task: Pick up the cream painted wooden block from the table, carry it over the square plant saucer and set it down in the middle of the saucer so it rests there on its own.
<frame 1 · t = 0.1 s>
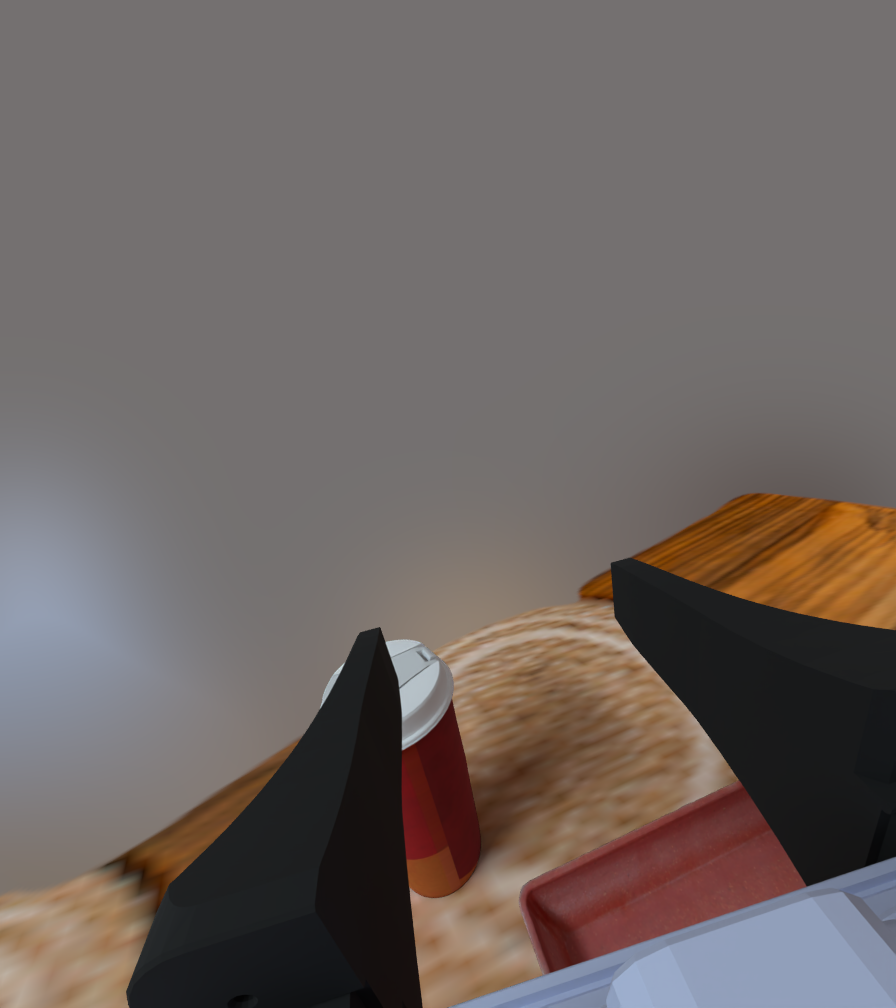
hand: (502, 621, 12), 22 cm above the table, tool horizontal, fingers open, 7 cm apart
paper cup: (439, 849, 27), on the table
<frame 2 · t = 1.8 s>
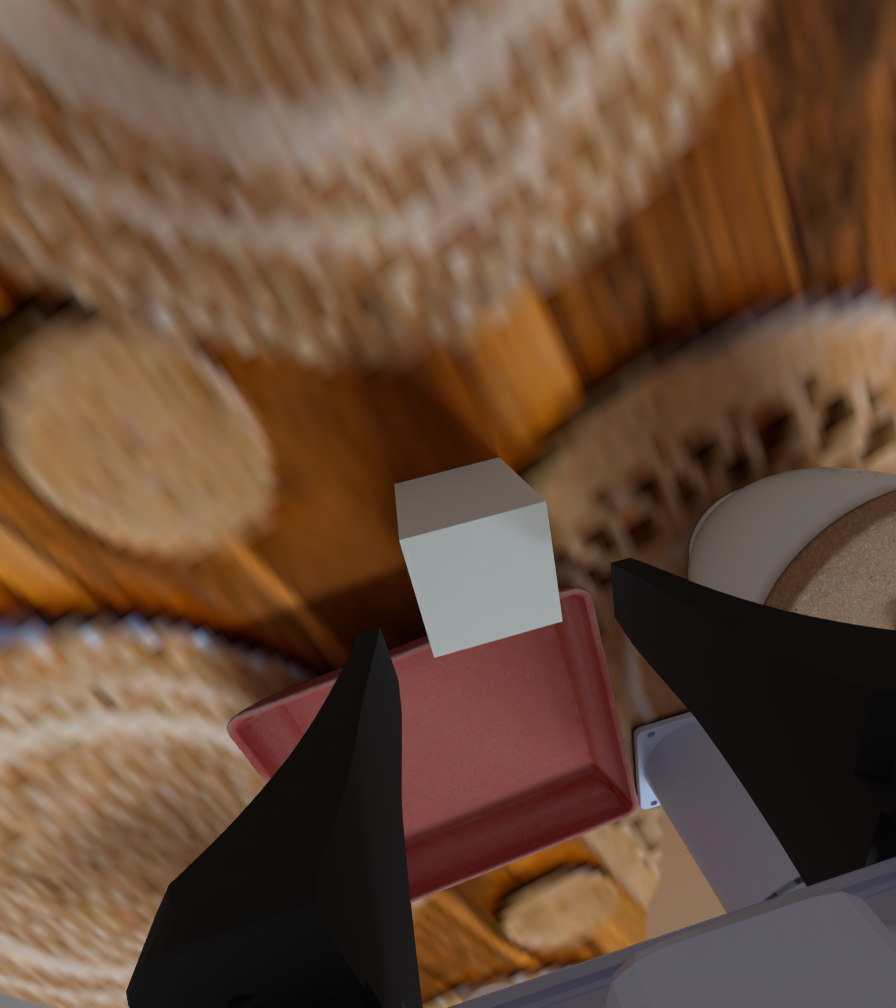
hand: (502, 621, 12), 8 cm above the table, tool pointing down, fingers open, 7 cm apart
lidded jar: (736, 536, 23), on the table
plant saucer: (454, 722, 25), on the table
block: (457, 518, 20), on the table
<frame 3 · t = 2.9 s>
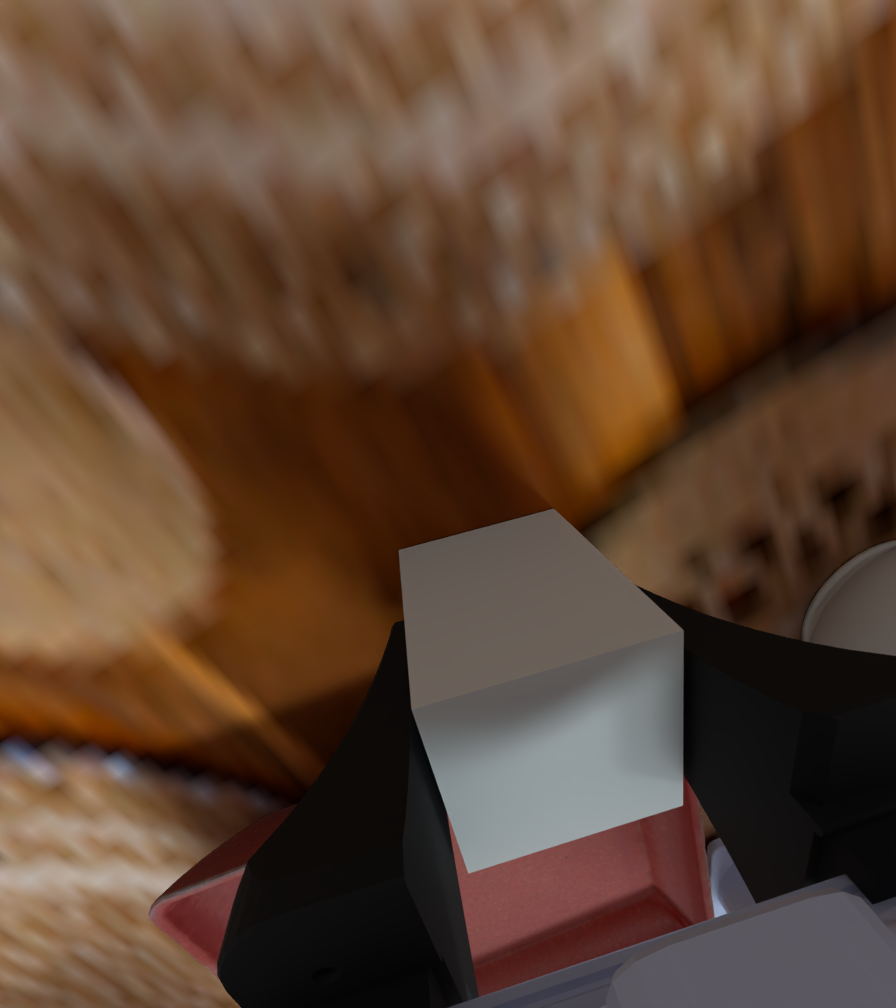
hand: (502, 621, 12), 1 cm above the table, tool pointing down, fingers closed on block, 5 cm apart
lidded jar: (864, 604, 17), on the table
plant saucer: (476, 841, 19), on the table
block: (491, 595, 14), on the table, touching gripper
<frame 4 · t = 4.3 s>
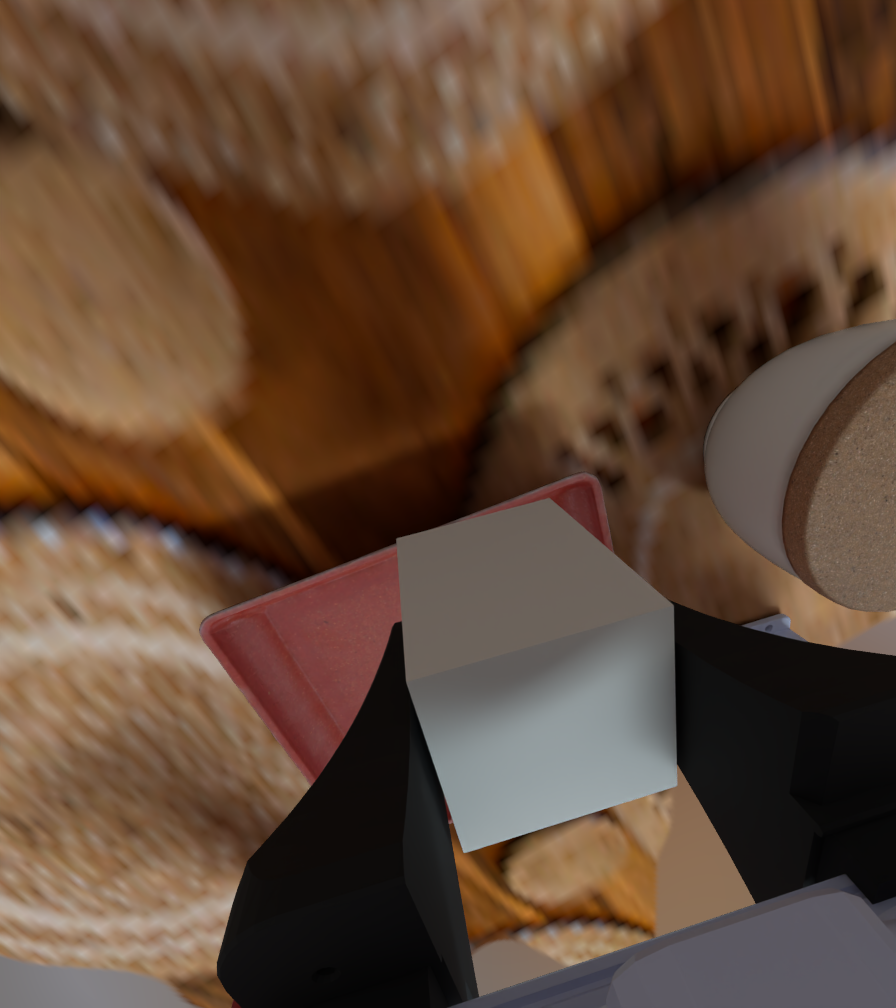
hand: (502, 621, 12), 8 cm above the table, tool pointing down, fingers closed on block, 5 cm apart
lidded jar: (754, 434, 21), on the table
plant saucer: (452, 647, 24), on the table
block: (488, 584, 14), point 7 cm above the table, touching gripper
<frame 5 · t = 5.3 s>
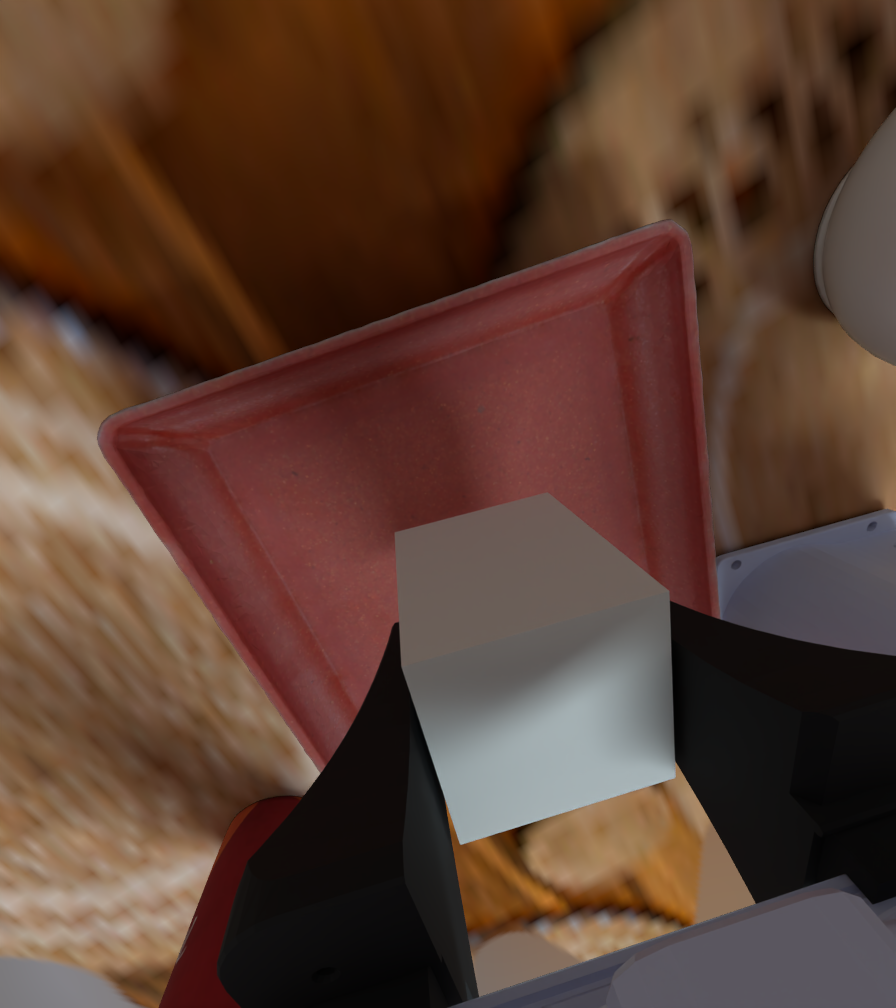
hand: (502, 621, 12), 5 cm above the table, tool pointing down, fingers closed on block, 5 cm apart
paper cup: (285, 828, 22), on the table
lidded jar: (881, 235, 16), on the table
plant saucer: (465, 535, 18), on the table
block: (486, 579, 14), point 4 cm above the table, touching gripper
when the fingers open (5 cm above the table, at t = 5.8 s): block stays where it is, resting on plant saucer.
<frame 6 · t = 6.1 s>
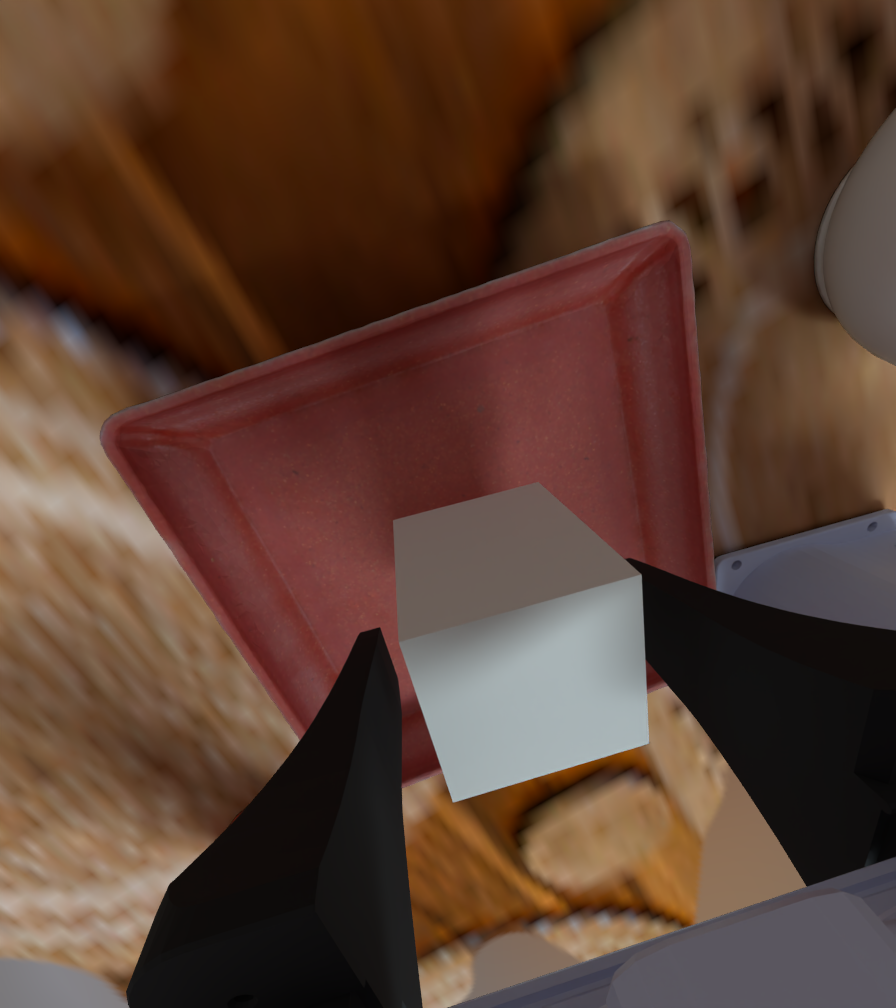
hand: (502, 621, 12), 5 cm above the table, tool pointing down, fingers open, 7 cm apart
lidded jar: (881, 234, 16), on the table
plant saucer: (464, 534, 18), on the table, touching block
block: (480, 564, 15), point 3 cm above the table, touching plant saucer
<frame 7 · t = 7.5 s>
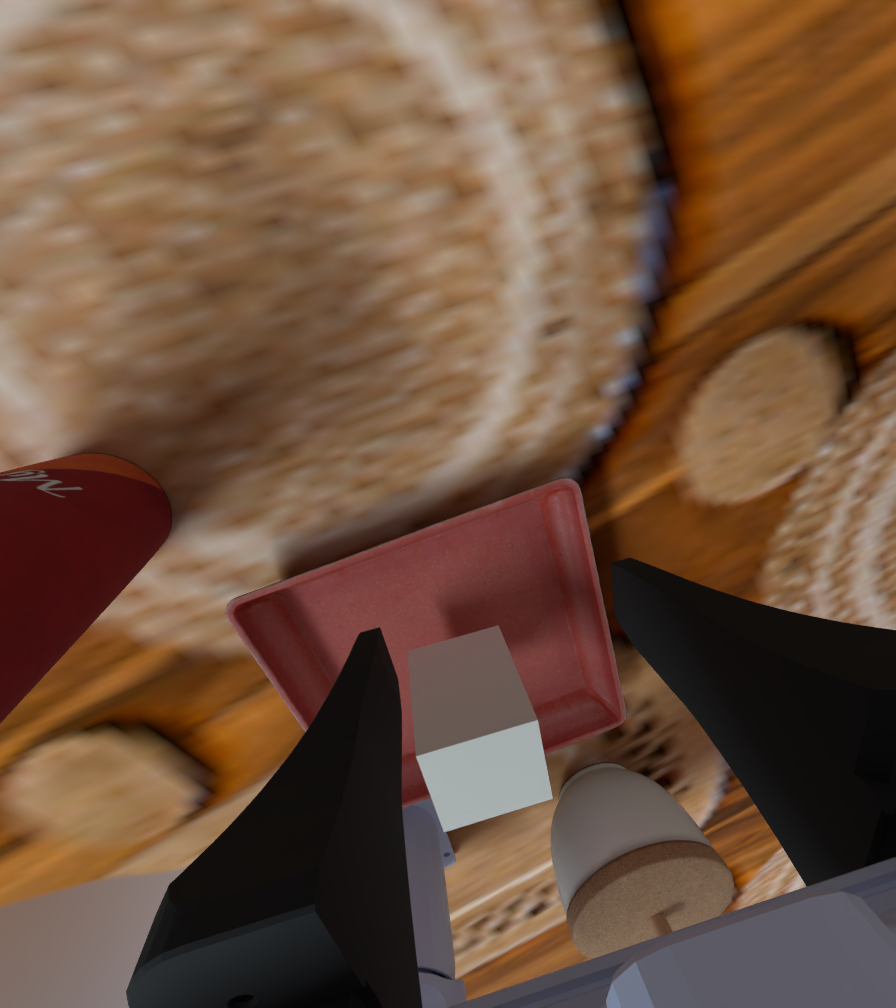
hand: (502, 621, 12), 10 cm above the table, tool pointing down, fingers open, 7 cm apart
paper cup: (109, 509, 20), on the table
lidded jar: (594, 787, 33), on the table
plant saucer: (447, 634, 26), on the table, touching block
block: (462, 673, 23), point 3 cm above the table, touching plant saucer
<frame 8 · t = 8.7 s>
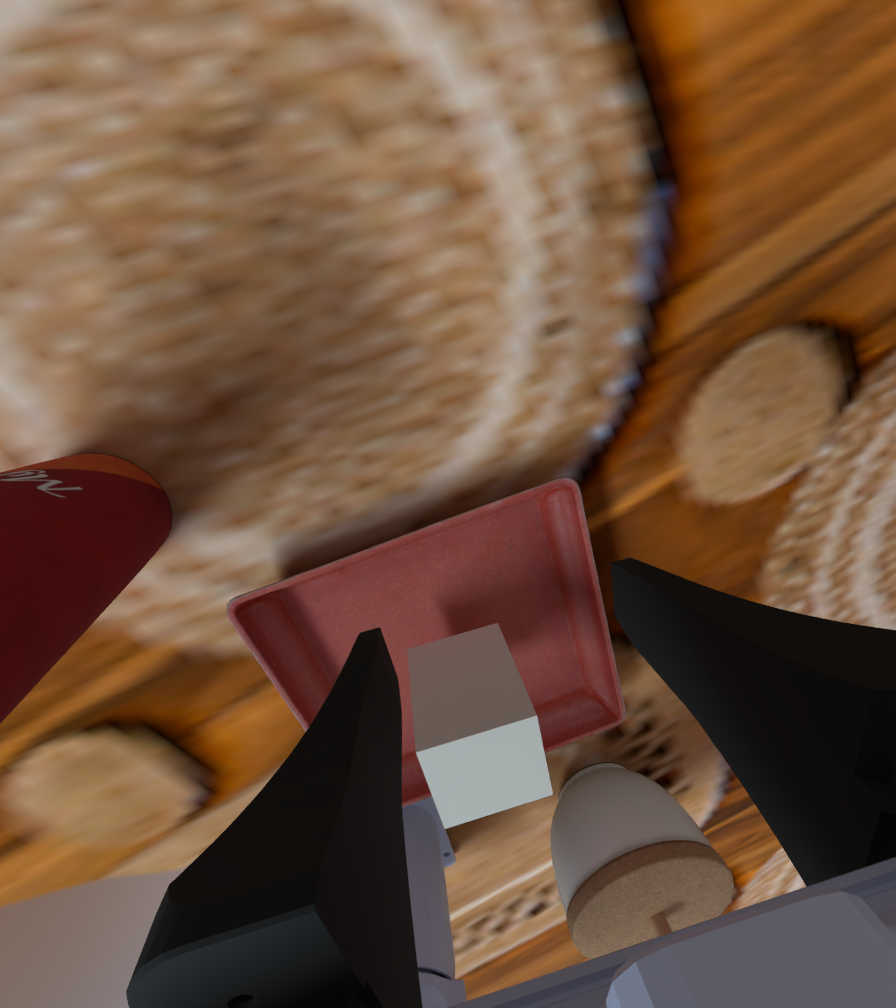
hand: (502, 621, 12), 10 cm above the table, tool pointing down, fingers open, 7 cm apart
paper cup: (109, 509, 20), on the table
lidded jar: (594, 787, 33), on the table
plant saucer: (447, 633, 26), on the table, touching block
block: (462, 671, 23), point 3 cm above the table, touching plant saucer
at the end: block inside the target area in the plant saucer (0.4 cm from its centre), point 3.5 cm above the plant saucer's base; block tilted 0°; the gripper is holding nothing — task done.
